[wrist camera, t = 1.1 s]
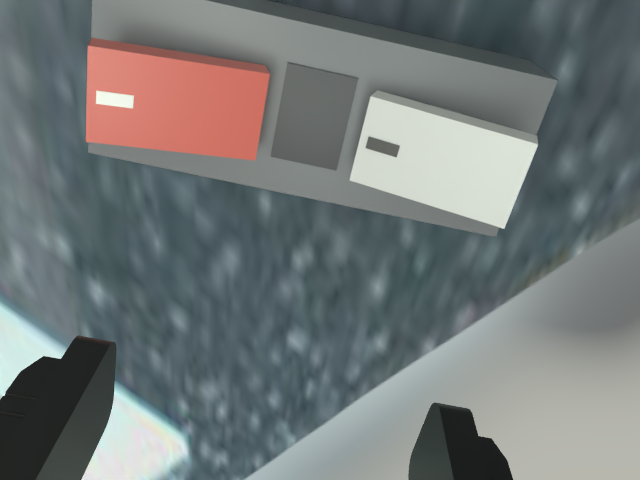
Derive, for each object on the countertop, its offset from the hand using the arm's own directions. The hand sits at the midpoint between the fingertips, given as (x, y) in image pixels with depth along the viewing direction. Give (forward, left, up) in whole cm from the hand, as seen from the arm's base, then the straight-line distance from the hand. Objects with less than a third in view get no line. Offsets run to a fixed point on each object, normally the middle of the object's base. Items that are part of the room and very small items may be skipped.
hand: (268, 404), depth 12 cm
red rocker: (+6, 0, -19) cm, 20 cm away
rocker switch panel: (0, 0, -26) cm, 26 cm away
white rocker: (-7, 0, -19) cm, 20 cm away
